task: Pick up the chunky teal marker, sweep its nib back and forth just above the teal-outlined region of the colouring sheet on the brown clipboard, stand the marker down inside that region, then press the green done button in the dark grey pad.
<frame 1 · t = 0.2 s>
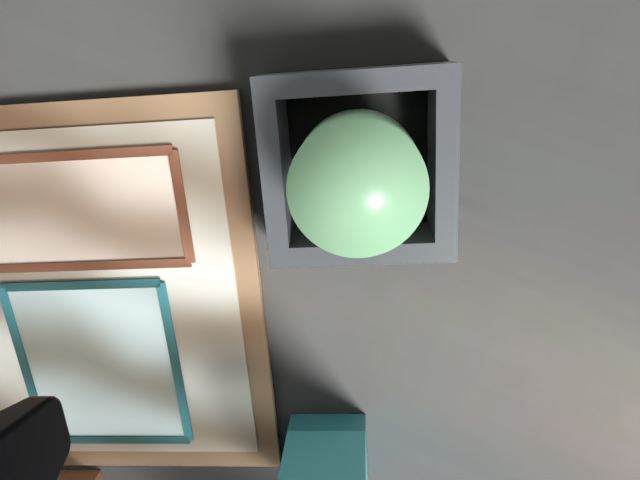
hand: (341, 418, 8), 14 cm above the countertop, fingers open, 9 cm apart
button pad: (358, 160, 21), on the countertop
done button: (357, 180, 17), point 4 cm above the countertop, slide at 0.0 cm
colouring board: (102, 303, 24), on the countertop
marker teal: (330, 444, 26), on the countertop
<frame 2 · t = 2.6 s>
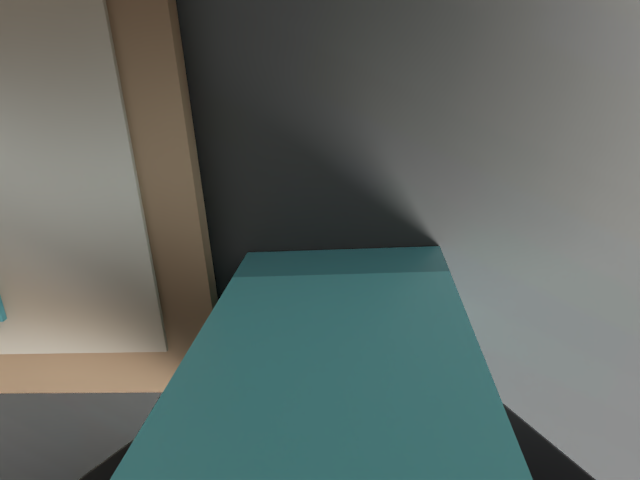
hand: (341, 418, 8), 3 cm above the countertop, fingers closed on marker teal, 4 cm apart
marker teal: (346, 334, 10), on the countertop, touching gripper
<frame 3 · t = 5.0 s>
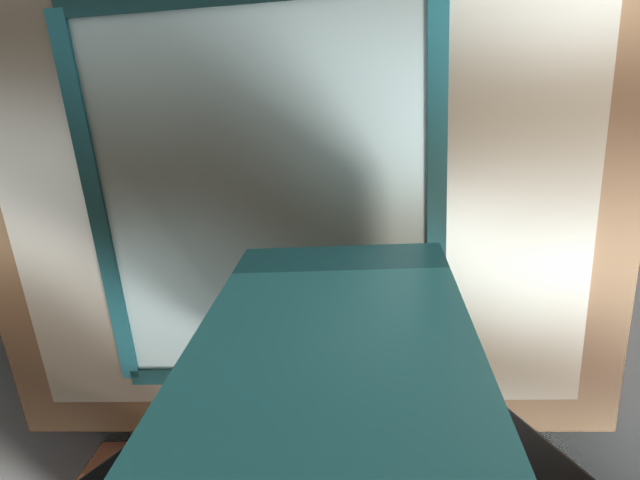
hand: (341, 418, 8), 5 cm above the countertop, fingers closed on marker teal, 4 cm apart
colouring board: (276, 58, 11), on the countertop
marker teal: (346, 331, 10), point 2 cm above the countertop, touching gripper
when the fingers open (4 cm above the countertop, at t = 7.9 s): marker teal stays where it is, resting on colouring board.
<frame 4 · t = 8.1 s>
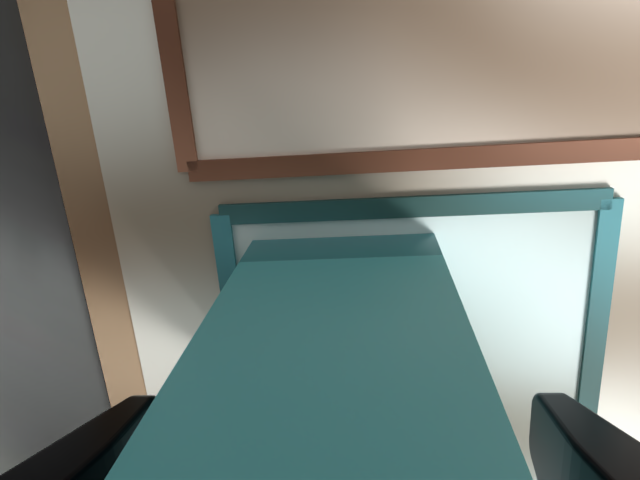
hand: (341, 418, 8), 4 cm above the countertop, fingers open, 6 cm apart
colouring board: (431, 254, 11), on the countertop
marker teal: (346, 318, 11), point 1 cm above the countertop, touching colouring board
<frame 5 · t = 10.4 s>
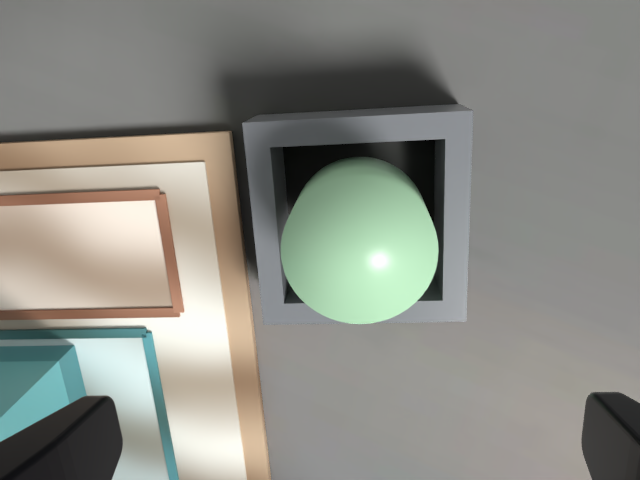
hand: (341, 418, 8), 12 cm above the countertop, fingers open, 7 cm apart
button pad: (360, 206, 19), on the countertop
done button: (359, 236, 16), point 4 cm above the countertop, slide at 0.0 cm
colouring board: (84, 351, 22), on the countertop
marker teal: (43, 382, 22), point 1 cm above the countertop, touching colouring board
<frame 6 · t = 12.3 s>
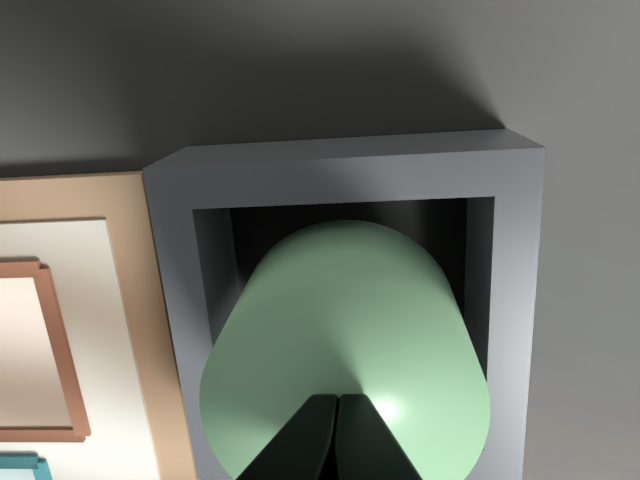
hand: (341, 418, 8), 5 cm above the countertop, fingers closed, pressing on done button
button pad: (349, 284, 12), on the countertop
done button: (344, 361, 9), point 3 cm above the countertop, slide at 0.1 cm, touching gripper
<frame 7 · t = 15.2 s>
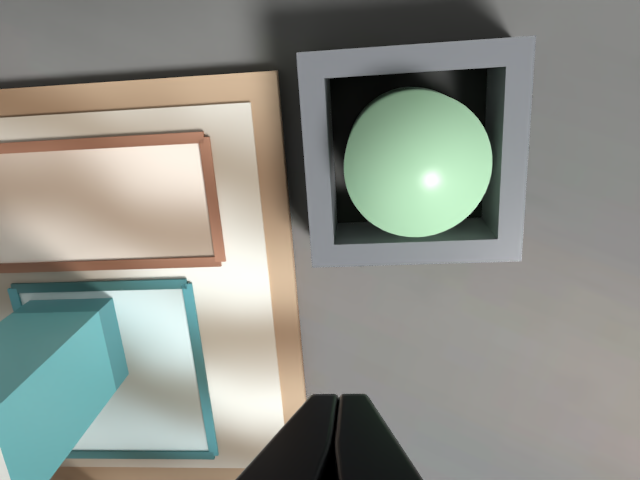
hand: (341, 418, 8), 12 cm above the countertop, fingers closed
button pad: (408, 149, 19), on the countertop
done button: (412, 158, 17), point 2 cm above the countertop, slide at 1.5 cm
colouring board: (121, 306, 22), on the countertop
marker teal: (80, 337, 22), point 1 cm above the countertop, touching colouring board
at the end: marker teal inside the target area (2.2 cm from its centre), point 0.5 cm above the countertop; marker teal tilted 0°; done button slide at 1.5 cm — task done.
